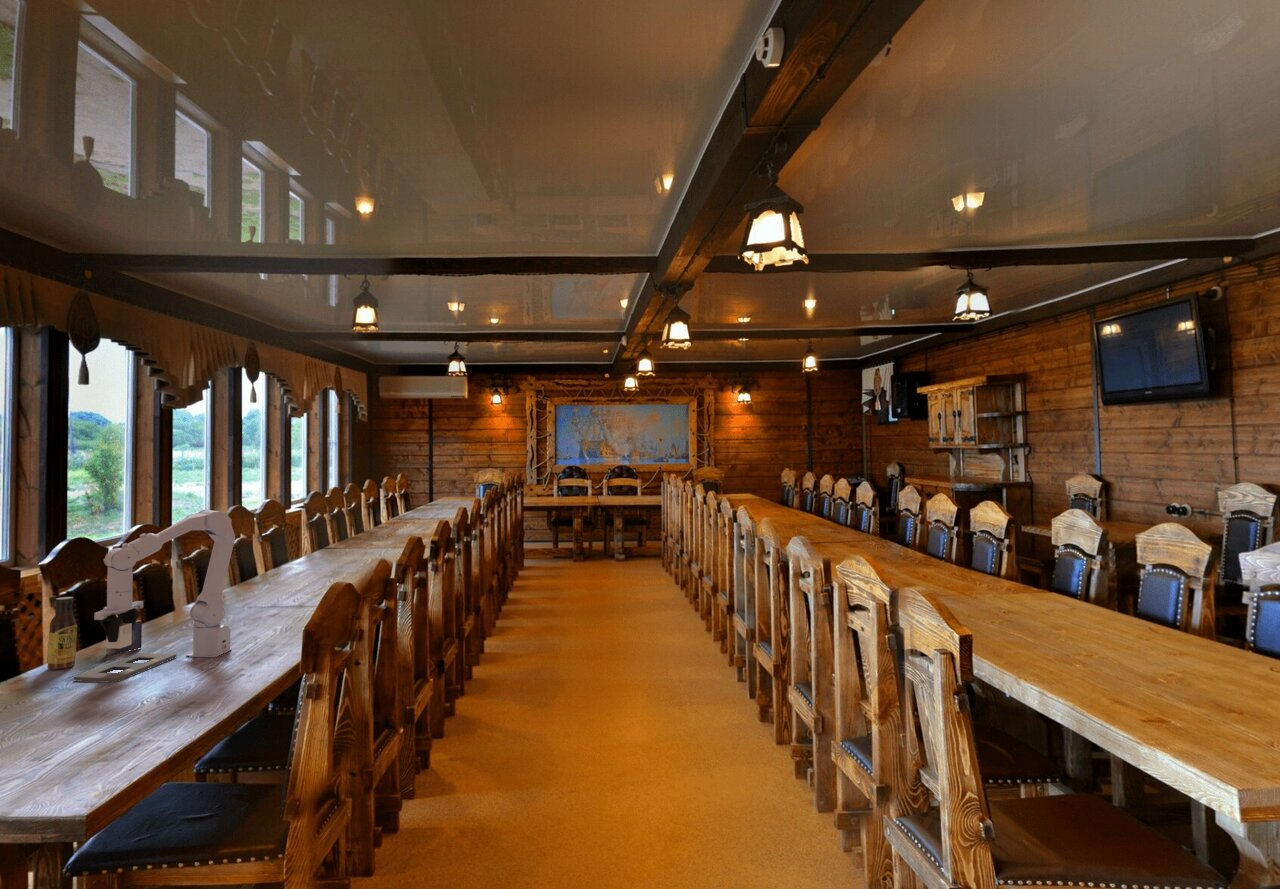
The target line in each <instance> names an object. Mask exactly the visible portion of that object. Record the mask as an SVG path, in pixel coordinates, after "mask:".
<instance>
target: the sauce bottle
mask: <svg viewBox="0 0 1280 889" xmlns="http://www.w3.org/2000/svg"><path fill="white" fill-rule="evenodd" d="M74 601H75V600H74V597H73V596H63V597H58V598H55V601H54V603H55V614H54V616H53V618H52V619H51V621H50V623H49V631H48V644H47V645H48V646H47V669H48V670H50V671H55V670H65V669H69V668H72V667H74V666H75V664H76V663H75V662H76V656H77V638H78V637H77V634H78V624H77V622H76V619H75V616H74V610H73V607H74V606H73V605H74ZM73 665H74V666H73Z"/></svg>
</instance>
